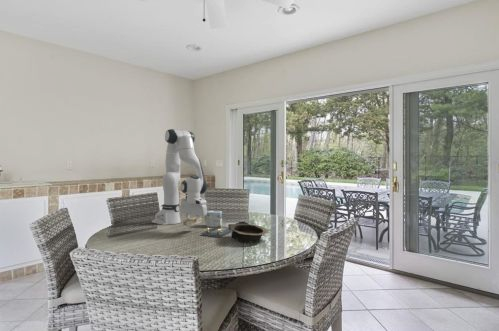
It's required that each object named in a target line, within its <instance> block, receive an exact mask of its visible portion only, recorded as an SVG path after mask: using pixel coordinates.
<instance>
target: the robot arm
mask: <svg viewBox="0 0 499 331" xmlns="http://www.w3.org/2000/svg"><path fill="white" fill-rule="evenodd" d="M164 139H165V141H166V143H167V145H166V151H165V153H166V154H165V173H164V174H163V175H162V178H161V182H162V190H163V204H161V206H160V207H161V209H160V210H159V211H157V213H155V215H154V219H153V220H151V223H154V224H158V225H164V226H166V225H176V224H180V223H182V220H181V215H180V213H181V214H182V213H183V214H185V216H186V219H190V218H192V217H191V216H190V215H193V216H195V217H197V218H196V219H195V222H198V219H199V218H201V217H206V214H207V211H208V206H207V202H208V201H207V200H206V199H204V198H203V197H201V195H203V194H205V193H206V192H207V190H208V183H207V180H206V177H205V173H204V171H203V170H204V169H203V166H202V162H201V159H200V158H199V157H198V156H197V154H196V152H195V145H194V142H195V140H196V137H195V134H194V132H192V131H187V130H183V129H173V128H172V129H171V128H170V129H167V130H166V132H164ZM181 162H183V163H184V164H186V165H189V166H191V167H192V168H194V170H195V174H196V175H189V176H188V177H187V179H184V180H182V181H181ZM180 181H181V183H180ZM179 183H180V191H181V192H182V193H183V194H186V198H183V199H181V200H180V192H179V185H178V184H179Z"/></svg>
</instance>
